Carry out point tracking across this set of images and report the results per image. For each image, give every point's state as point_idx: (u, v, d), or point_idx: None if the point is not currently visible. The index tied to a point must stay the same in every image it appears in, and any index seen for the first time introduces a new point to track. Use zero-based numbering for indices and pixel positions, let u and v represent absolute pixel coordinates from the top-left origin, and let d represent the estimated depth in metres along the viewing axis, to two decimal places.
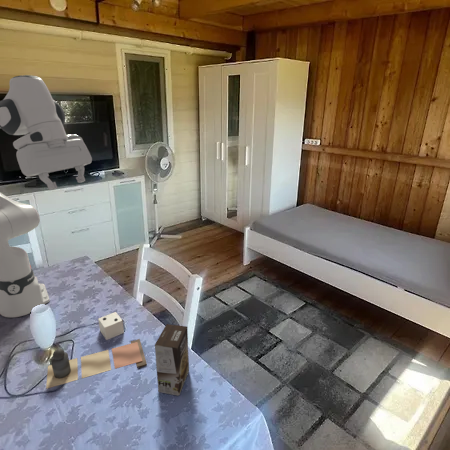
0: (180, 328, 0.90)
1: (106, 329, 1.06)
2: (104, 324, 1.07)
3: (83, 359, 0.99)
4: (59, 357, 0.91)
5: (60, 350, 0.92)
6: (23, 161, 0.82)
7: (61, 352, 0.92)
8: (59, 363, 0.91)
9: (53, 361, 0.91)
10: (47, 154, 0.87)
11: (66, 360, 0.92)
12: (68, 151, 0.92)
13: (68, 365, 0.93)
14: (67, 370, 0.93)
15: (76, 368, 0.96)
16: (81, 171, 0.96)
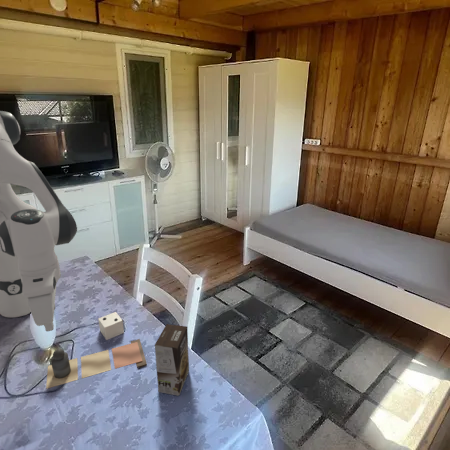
0: (180, 328, 0.90)
1: (106, 329, 1.06)
2: (104, 324, 1.07)
3: (83, 359, 0.99)
4: (59, 357, 0.91)
5: (60, 350, 0.92)
6: (44, 312, 0.77)
7: (61, 352, 0.92)
8: (59, 363, 0.91)
9: (53, 361, 0.91)
10: None
11: (66, 360, 0.92)
12: None
13: (68, 365, 0.93)
14: (67, 370, 0.93)
15: (76, 368, 0.96)
16: None
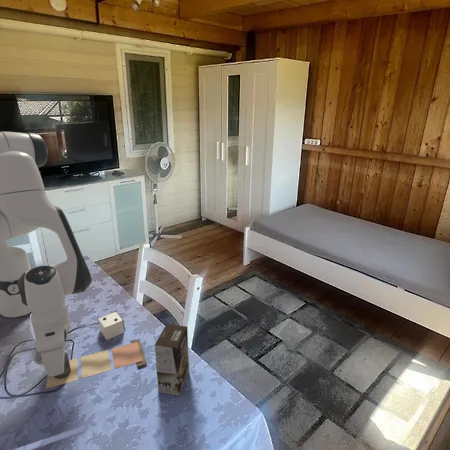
0: (180, 328, 0.90)
1: (106, 329, 1.06)
2: (104, 324, 1.07)
3: (83, 359, 0.99)
4: None
5: None
6: (56, 364, 0.82)
7: None
8: None
9: None
10: None
11: (66, 360, 0.92)
12: None
13: (68, 365, 0.93)
14: (67, 370, 0.93)
15: (76, 368, 0.96)
16: None
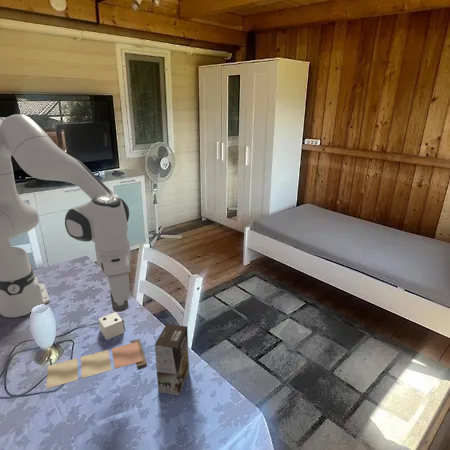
0: (180, 328, 0.90)
1: (106, 329, 1.06)
2: (104, 324, 1.07)
3: (83, 359, 0.99)
4: None
5: None
6: (123, 290, 0.83)
7: None
8: None
9: None
10: None
11: None
12: None
13: None
14: (126, 304, 0.94)
15: (76, 368, 0.96)
16: None
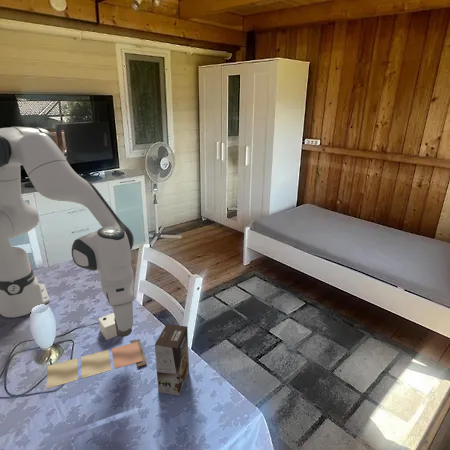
0: (180, 328, 0.90)
1: (106, 329, 1.06)
2: (104, 324, 1.07)
3: (83, 359, 0.99)
4: None
5: None
6: (127, 318, 0.86)
7: None
8: None
9: None
10: None
11: None
12: None
13: None
14: (129, 329, 0.97)
15: (76, 368, 0.96)
16: None
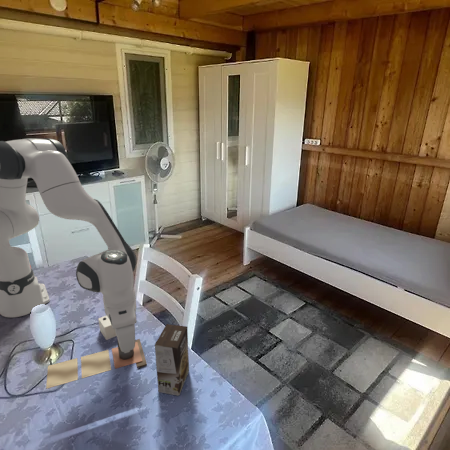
0: (180, 328, 0.90)
1: (106, 329, 1.06)
2: (104, 324, 1.07)
3: (83, 359, 0.99)
4: None
5: None
6: (129, 340, 0.88)
7: None
8: None
9: None
10: None
11: None
12: None
13: None
14: (132, 352, 1.00)
15: (76, 368, 0.96)
16: None
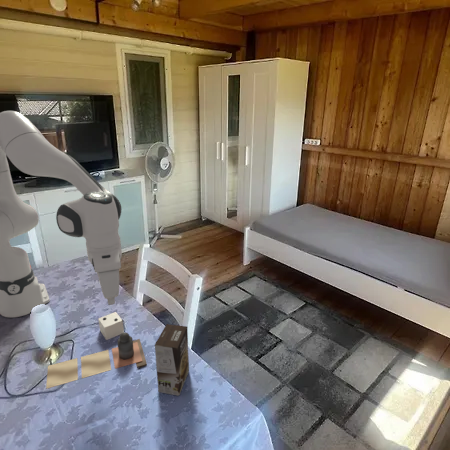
0: (180, 328, 0.90)
1: (106, 329, 1.06)
2: (104, 324, 1.07)
3: (83, 359, 0.99)
4: (126, 340, 0.98)
5: (126, 333, 0.99)
6: (112, 286, 0.83)
7: (127, 335, 0.98)
8: (126, 345, 0.98)
9: (120, 343, 0.98)
10: None
11: (131, 343, 0.99)
12: None
13: (132, 347, 1.00)
14: (131, 352, 1.00)
15: (76, 368, 0.96)
16: None
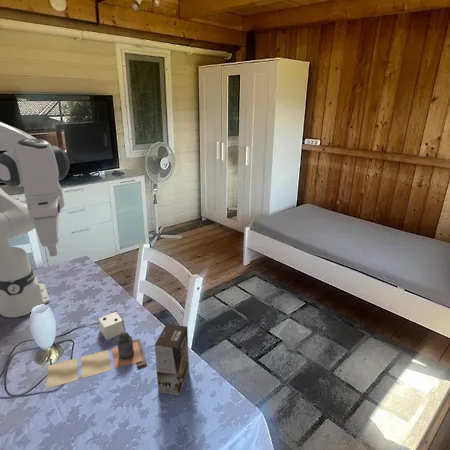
0: (180, 328, 0.90)
1: (106, 329, 1.06)
2: (104, 324, 1.07)
3: (83, 359, 0.99)
4: (125, 339, 0.98)
5: (126, 333, 0.99)
6: (49, 233, 0.82)
7: (127, 334, 0.98)
8: (125, 345, 0.98)
9: (119, 343, 0.98)
10: None
11: (131, 342, 0.99)
12: None
13: (132, 347, 1.00)
14: (131, 352, 1.00)
15: (76, 368, 0.96)
16: None
